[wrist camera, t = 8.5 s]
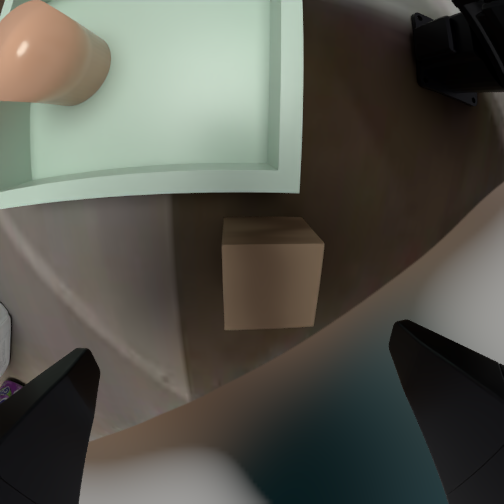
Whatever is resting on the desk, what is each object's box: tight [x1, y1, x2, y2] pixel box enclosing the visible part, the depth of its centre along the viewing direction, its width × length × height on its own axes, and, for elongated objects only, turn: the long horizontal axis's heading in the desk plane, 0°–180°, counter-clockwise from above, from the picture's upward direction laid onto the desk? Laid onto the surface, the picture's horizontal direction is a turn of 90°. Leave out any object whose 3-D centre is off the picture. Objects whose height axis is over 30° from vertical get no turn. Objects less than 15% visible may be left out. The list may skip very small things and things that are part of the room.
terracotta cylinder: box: [0, 0, 111, 106], centre depth 9 cm, size 5×5×7 cm
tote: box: [0, 0, 303, 209], centre depth 11 cm, size 18×16×5 cm
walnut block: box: [222, 217, 324, 330], centre depth 17 cm, size 5×5×5 cm
